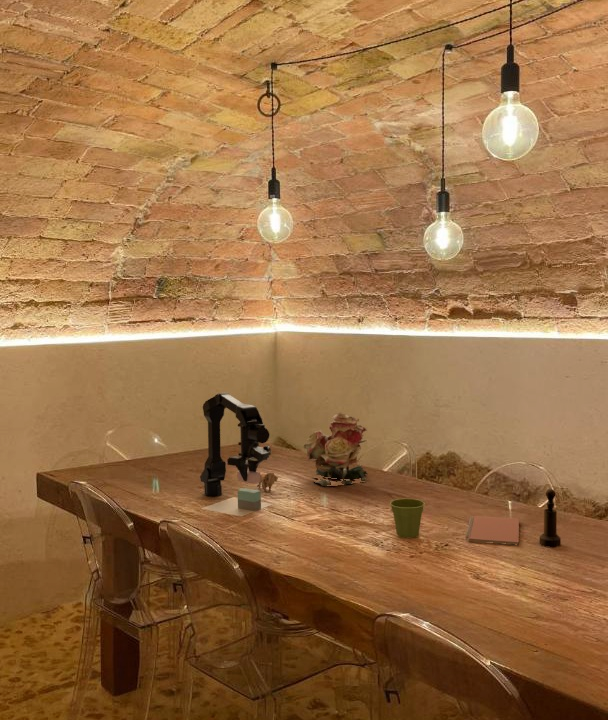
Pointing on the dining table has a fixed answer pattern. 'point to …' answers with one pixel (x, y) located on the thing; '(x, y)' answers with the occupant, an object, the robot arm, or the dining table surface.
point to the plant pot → (407, 516)
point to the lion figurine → (267, 480)
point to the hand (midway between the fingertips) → (248, 479)
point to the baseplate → (236, 506)
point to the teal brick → (249, 495)
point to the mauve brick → (250, 477)
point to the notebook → (493, 530)
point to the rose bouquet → (337, 450)
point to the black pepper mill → (550, 523)
